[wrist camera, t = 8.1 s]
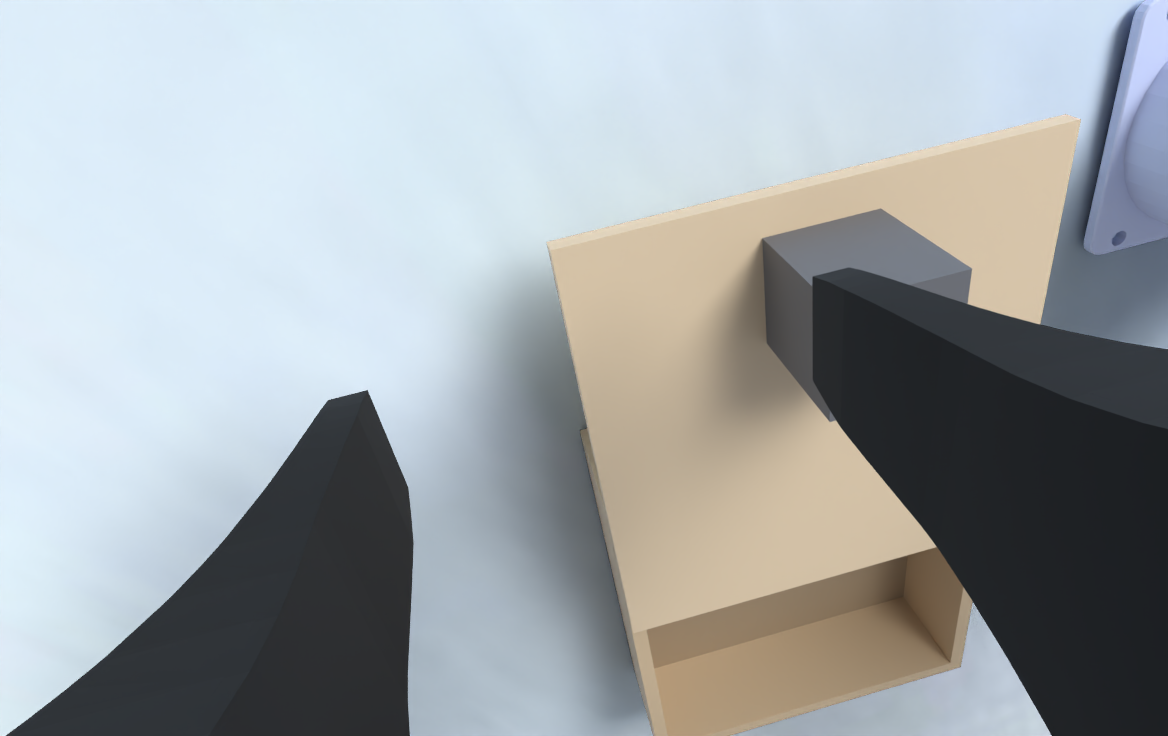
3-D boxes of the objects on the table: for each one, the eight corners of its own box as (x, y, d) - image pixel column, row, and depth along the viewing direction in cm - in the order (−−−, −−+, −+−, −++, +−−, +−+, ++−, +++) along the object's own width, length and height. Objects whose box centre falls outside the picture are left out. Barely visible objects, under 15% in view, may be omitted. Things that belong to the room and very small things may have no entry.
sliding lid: (1065, 114, 18) (1212, 163, 15) (990, 519, 26) (1075, 610, 23) (546, 242, 17) (579, 324, 14) (629, 620, 25) (663, 731, 22)
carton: (934, 336, 26) (1009, 399, 23) (906, 592, 34) (960, 666, 31) (579, 430, 26) (605, 510, 22) (634, 670, 33) (659, 756, 30)
